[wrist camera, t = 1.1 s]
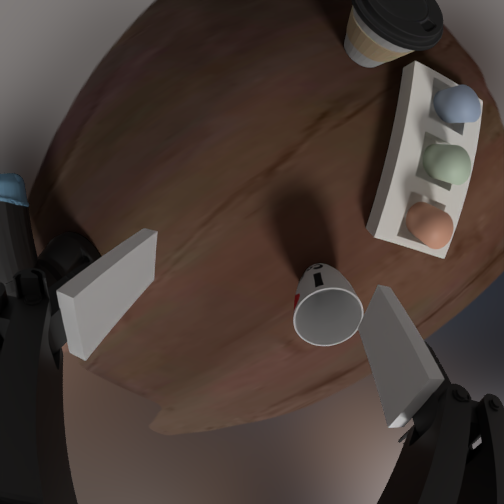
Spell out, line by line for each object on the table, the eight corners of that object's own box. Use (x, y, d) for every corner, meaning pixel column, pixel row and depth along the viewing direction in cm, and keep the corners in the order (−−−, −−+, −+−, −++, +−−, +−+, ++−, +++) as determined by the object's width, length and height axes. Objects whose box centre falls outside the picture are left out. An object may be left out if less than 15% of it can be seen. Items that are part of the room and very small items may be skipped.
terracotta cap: (401, 230, 32) (417, 243, 27) (412, 197, 30) (430, 205, 25) (427, 239, 31) (445, 253, 27) (438, 207, 30) (458, 217, 25)
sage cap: (418, 171, 29) (438, 176, 24) (426, 138, 27) (446, 138, 22) (445, 183, 28) (466, 190, 24) (453, 151, 27) (474, 154, 22)
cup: (317, 241, 37) (327, 273, 28) (358, 274, 38) (377, 312, 29) (280, 283, 40) (278, 324, 31) (321, 312, 41) (329, 355, 32)
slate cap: (431, 114, 26) (451, 111, 21) (435, 84, 24) (455, 77, 19) (457, 128, 25) (478, 128, 21) (461, 99, 24) (482, 96, 19)
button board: (365, 228, 35) (374, 237, 32) (403, 67, 26) (415, 60, 23) (431, 248, 35) (444, 258, 31) (467, 103, 26) (482, 101, 22)
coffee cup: (386, 90, 28) (443, 64, 14) (321, 60, 28) (343, 10, 14) (402, 40, 25) (453, 1, 11) (340, 11, 24) (366, -47, 11)
